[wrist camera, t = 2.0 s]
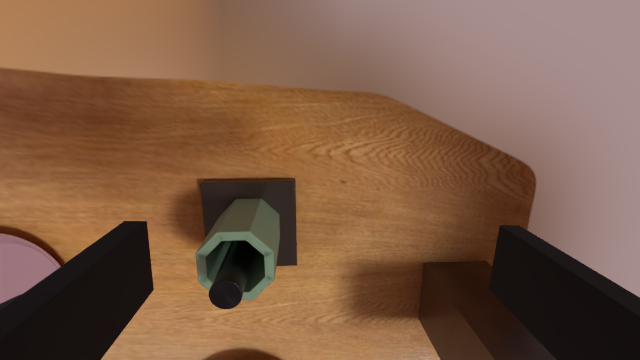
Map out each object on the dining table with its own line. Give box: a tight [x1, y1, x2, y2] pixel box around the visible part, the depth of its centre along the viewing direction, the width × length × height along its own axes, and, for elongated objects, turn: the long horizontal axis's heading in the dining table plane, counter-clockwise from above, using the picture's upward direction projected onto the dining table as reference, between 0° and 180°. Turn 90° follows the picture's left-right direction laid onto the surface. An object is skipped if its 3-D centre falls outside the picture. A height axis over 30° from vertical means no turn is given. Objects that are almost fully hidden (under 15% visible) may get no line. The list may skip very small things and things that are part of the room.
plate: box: [0, 233, 61, 304], centre depth 37 cm, size 14×14×2 cm
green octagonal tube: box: [196, 198, 280, 300], centre depth 32 cm, size 6×6×9 cm
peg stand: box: [201, 178, 297, 309], centre depth 31 cm, size 10×10×14 cm
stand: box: [419, 261, 556, 360], centre depth 32 cm, size 8×8×20 cm
